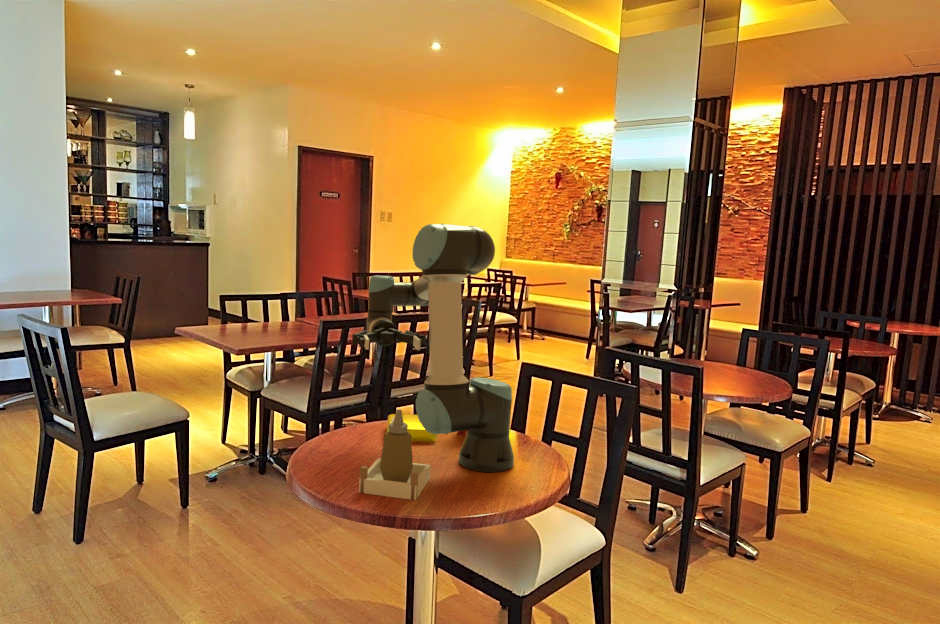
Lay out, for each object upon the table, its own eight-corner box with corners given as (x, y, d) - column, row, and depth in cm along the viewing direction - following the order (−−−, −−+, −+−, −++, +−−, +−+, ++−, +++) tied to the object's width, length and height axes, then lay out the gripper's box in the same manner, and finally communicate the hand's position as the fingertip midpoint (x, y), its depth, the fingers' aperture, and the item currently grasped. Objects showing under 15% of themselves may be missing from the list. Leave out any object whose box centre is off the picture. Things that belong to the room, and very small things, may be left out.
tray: (430, 478, 164) (431, 455, 164) (416, 500, 151) (417, 475, 150) (377, 471, 167) (378, 449, 166) (358, 492, 153) (359, 468, 152)
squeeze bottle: (389, 490, 153) (392, 416, 151) (373, 478, 160) (376, 407, 157) (418, 483, 158) (422, 412, 156) (401, 472, 164) (404, 404, 162)
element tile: (387, 426, 206) (388, 412, 205) (434, 427, 207) (435, 413, 207) (386, 442, 191) (386, 426, 190) (436, 443, 193) (437, 428, 192)
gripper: (424, 344, 195) (438, 359, 174) (340, 343, 188) (345, 358, 168) (425, 319, 194) (440, 331, 173) (340, 318, 187) (346, 330, 167)
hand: (393, 344), depth 171 cm, fingers open, 13 cm apart
